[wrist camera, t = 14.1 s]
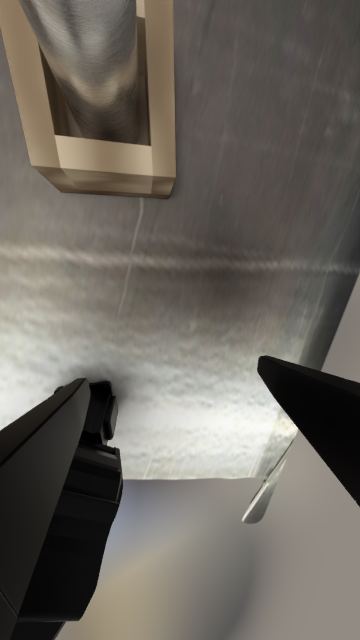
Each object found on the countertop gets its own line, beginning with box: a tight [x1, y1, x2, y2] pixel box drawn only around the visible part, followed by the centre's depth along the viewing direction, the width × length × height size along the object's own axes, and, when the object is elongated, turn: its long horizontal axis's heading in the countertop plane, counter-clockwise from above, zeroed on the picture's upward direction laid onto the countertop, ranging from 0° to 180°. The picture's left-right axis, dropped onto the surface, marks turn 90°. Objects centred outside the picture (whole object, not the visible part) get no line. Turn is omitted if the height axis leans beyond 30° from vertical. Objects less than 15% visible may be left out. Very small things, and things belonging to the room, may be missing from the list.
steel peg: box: [19, 0, 139, 144], centre depth 8 cm, size 5×5×13 cm
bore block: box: [0, 0, 176, 199], centre depth 13 cm, size 10×10×4 cm
